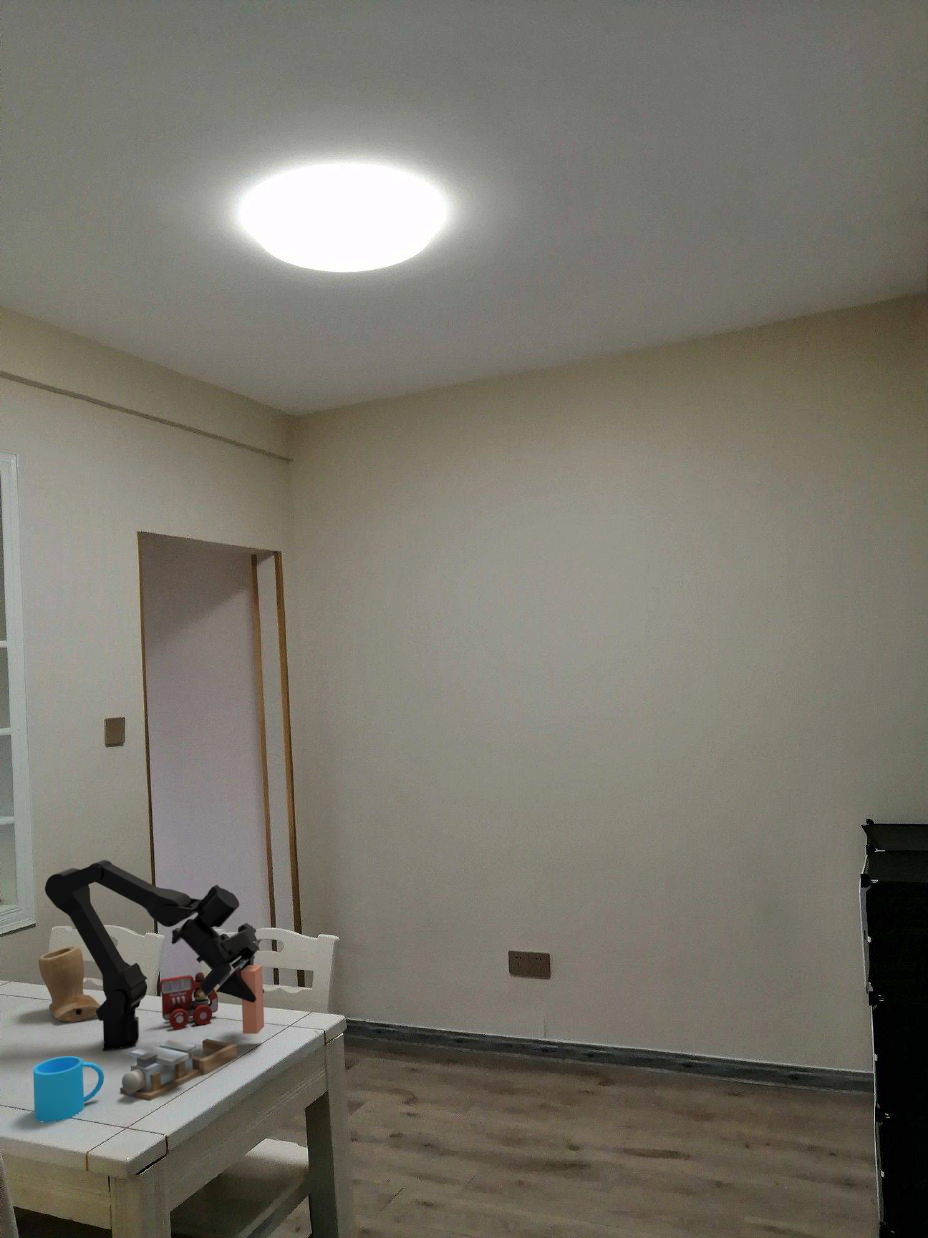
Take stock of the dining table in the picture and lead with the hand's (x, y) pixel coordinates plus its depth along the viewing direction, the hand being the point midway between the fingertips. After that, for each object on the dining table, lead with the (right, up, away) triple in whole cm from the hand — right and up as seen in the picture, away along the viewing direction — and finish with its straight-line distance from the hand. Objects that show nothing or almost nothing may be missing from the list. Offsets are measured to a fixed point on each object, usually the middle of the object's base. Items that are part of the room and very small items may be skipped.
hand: (258, 997), depth 204 cm
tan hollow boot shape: (-49, -14, +24) cm, 56 cm away
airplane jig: (-13, -10, -14) cm, 21 cm away
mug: (-28, -10, -26) cm, 40 cm away
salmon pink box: (-1, -7, 0) cm, 7 cm away
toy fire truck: (-18, -12, +16) cm, 27 cm away
